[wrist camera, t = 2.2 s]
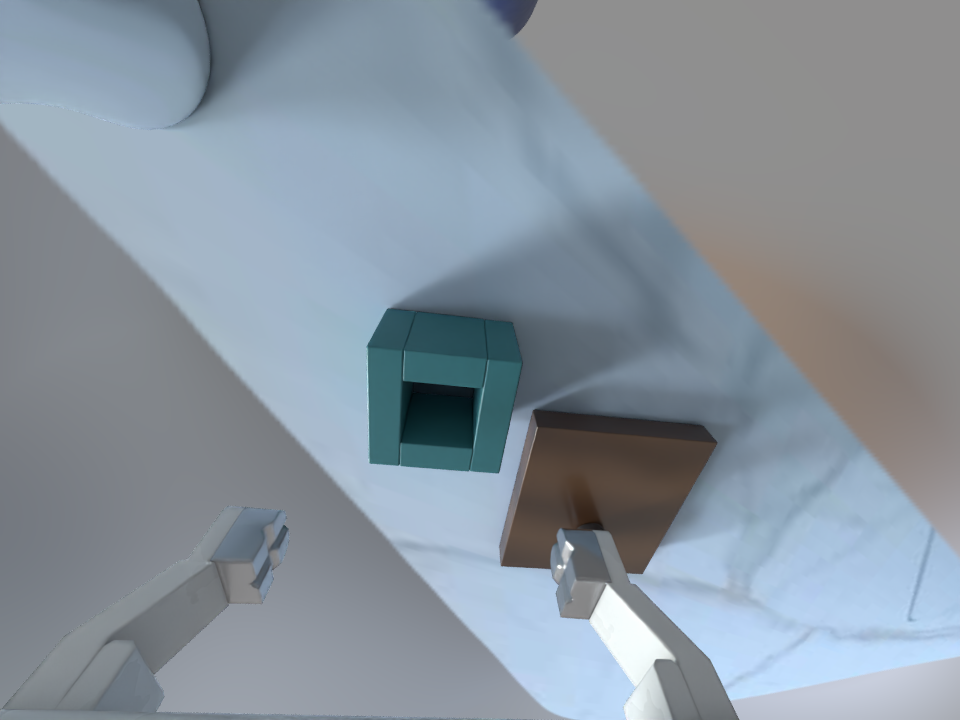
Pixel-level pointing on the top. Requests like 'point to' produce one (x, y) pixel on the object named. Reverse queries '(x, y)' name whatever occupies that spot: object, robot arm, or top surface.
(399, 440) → the teal hollow square block
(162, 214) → the top surface
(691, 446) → the base pad
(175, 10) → the beer glass
